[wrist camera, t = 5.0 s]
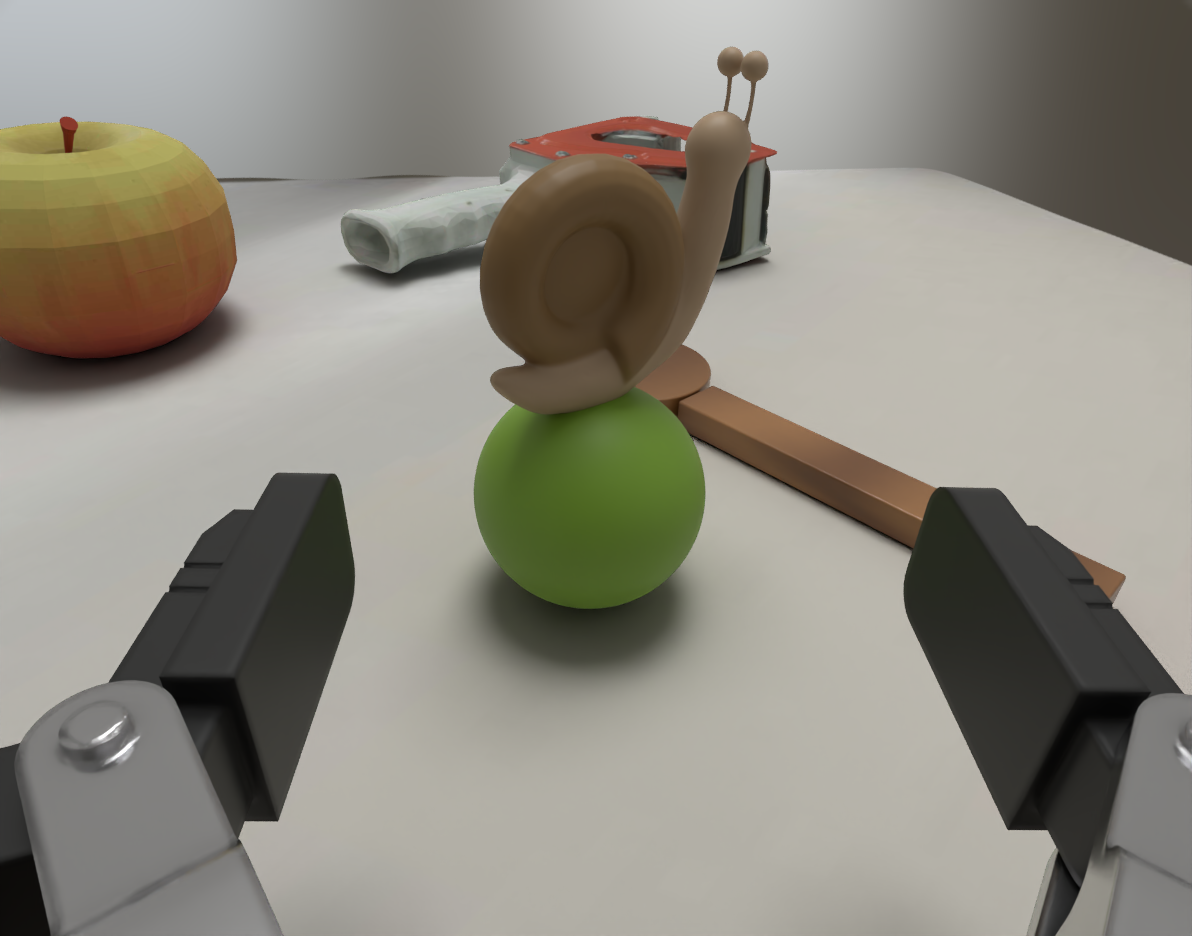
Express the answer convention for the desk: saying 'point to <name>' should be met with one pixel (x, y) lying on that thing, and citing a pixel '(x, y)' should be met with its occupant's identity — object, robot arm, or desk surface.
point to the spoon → (805, 456)
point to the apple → (107, 239)
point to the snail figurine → (602, 363)
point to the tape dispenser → (472, 212)
